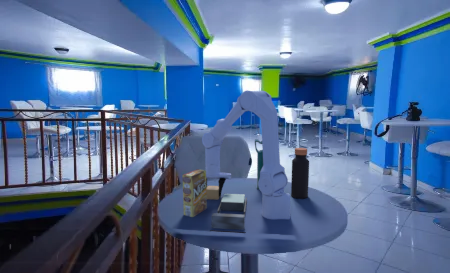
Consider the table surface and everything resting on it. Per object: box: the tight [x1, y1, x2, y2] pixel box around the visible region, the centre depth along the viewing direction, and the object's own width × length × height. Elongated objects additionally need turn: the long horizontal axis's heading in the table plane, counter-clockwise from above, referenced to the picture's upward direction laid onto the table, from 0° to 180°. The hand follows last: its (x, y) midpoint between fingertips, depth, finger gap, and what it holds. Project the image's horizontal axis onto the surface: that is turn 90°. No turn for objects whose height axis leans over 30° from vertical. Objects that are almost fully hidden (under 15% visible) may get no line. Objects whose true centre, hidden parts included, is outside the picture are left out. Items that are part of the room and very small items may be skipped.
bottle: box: [290, 147, 310, 200], centre depth 118 cm, size 7×7×20 cm
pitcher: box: [254, 138, 263, 191], centre depth 128 cm, size 10×8×22 cm
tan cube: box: [206, 185, 220, 201], centre depth 115 cm, size 5×5×5 cm
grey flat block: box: [220, 193, 246, 212], centre depth 106 cm, size 8×9×3 cm
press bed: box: [209, 196, 248, 234], centre depth 99 cm, size 11×24×5 cm, turn 173°
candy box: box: [182, 168, 208, 218], centre depth 100 cm, size 9×4×15 cm, turn 150°
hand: (213, 195), depth 115 cm, fingers closed on tan cube, 5 cm apart
